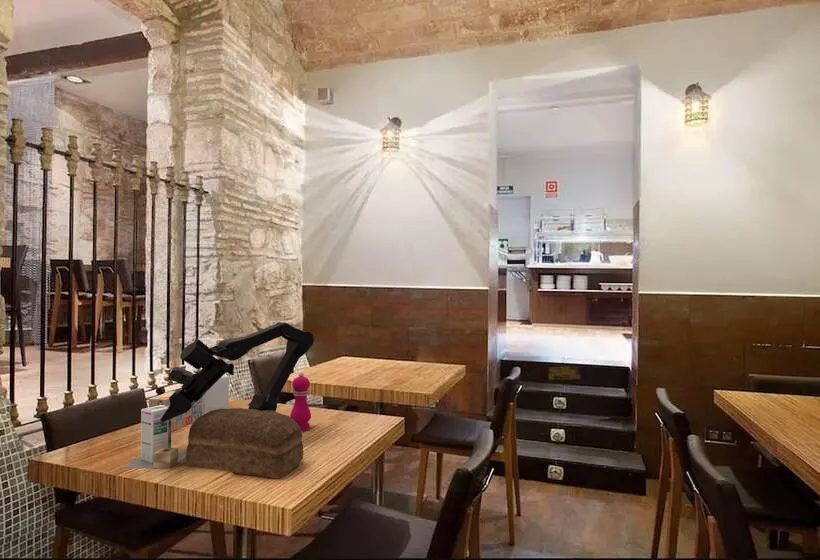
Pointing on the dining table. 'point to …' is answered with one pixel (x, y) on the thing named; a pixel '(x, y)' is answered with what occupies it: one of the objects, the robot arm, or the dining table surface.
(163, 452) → the oak block
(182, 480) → the dining table surface
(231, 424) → the bread
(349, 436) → the dining table surface
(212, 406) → the supplement box
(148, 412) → the syrup box
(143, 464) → the slate board
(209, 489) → the dining table surface
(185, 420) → the stack of blocks
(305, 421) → the pepper mill
